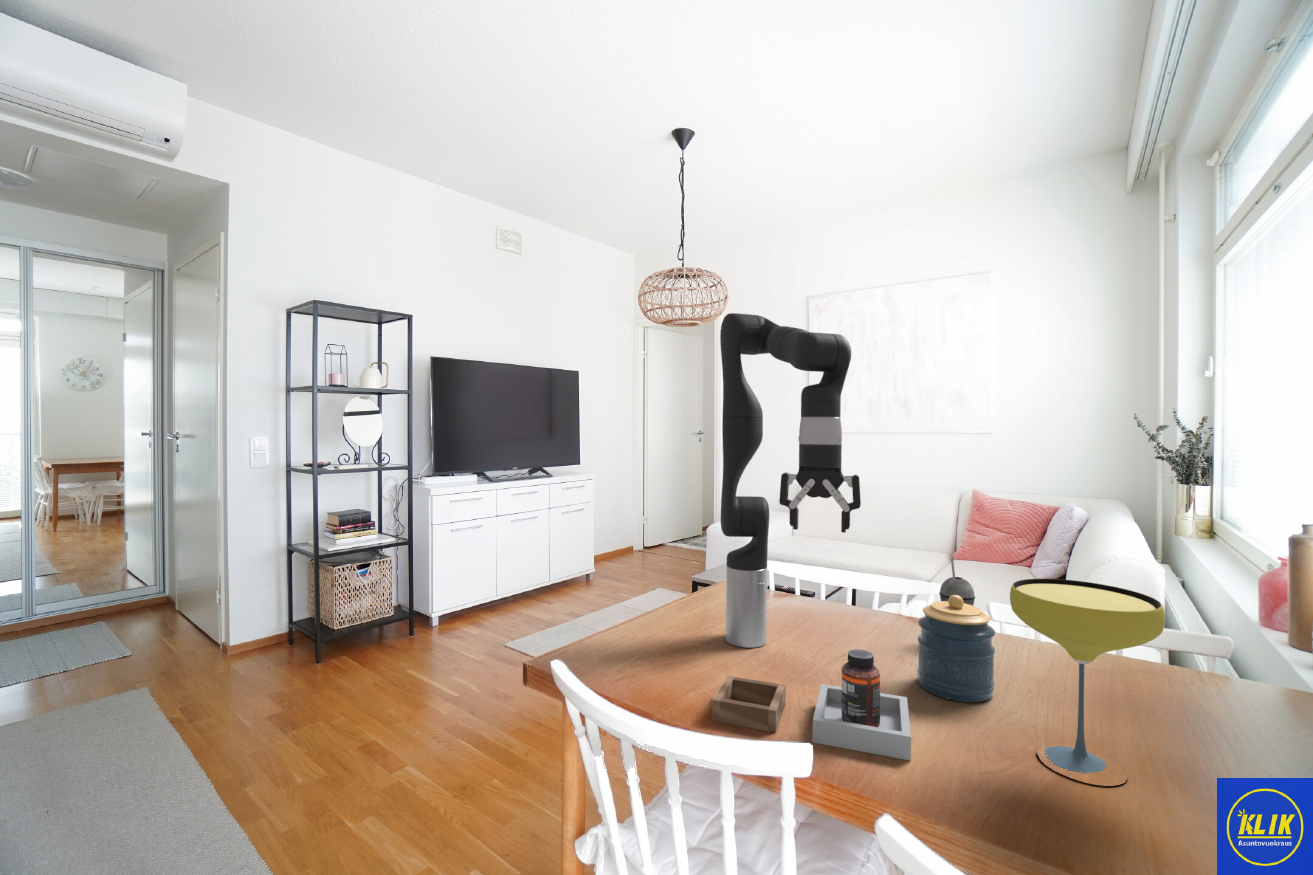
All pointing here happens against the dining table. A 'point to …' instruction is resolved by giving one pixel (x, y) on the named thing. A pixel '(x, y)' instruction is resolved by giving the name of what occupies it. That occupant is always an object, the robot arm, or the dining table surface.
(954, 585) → the beverage cup
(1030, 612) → the cocktail glass
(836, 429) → the robot arm
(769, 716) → the socket block
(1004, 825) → the dining table surface
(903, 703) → the tray
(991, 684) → the canister
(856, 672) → the supplement bottle
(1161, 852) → the dining table surface
